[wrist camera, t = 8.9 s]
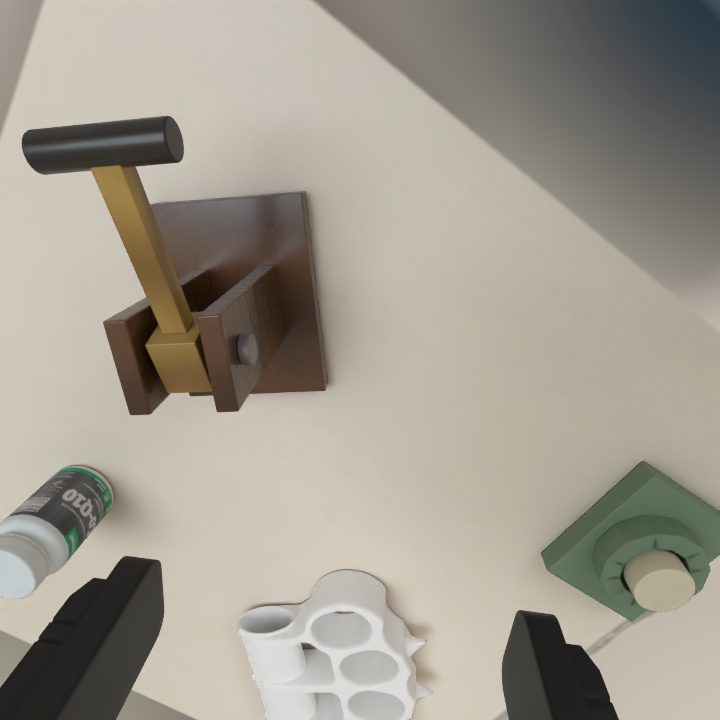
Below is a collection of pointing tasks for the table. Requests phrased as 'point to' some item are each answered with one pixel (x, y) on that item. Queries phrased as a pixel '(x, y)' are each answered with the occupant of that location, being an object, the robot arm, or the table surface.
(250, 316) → the switch bracket
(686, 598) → the button
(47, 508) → the pill bottle
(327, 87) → the table surface
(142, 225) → the switch lever
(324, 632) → the knuckle duster
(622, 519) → the button block
